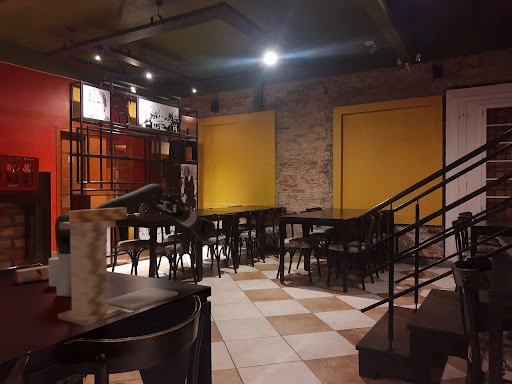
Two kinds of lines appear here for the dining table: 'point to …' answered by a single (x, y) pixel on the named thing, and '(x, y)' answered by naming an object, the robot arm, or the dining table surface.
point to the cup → (53, 271)
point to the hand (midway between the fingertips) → (160, 198)
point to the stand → (88, 273)
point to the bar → (97, 215)
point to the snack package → (32, 274)
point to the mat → (140, 298)
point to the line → (123, 309)
